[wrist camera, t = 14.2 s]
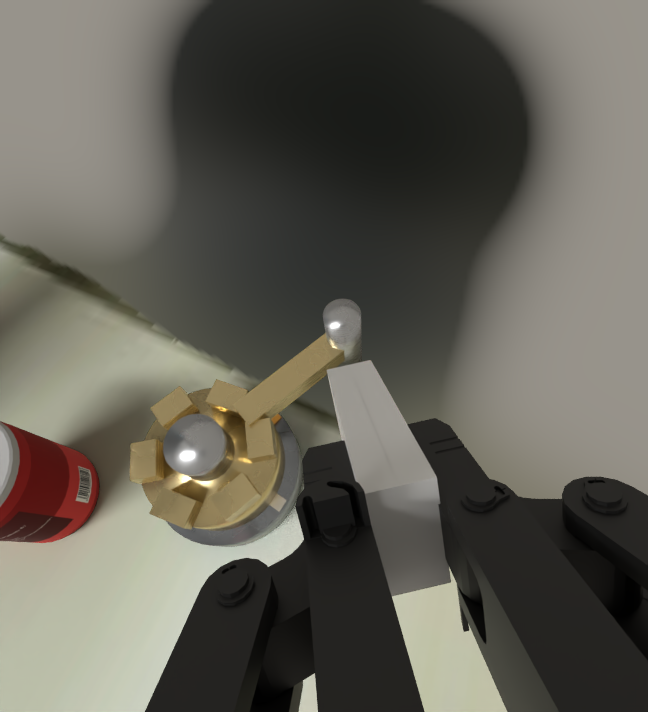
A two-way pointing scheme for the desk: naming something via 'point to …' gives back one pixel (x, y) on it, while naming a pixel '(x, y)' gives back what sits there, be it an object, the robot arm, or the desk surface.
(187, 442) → the geared crank handle
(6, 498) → the canned food
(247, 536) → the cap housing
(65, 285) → the desk surface
